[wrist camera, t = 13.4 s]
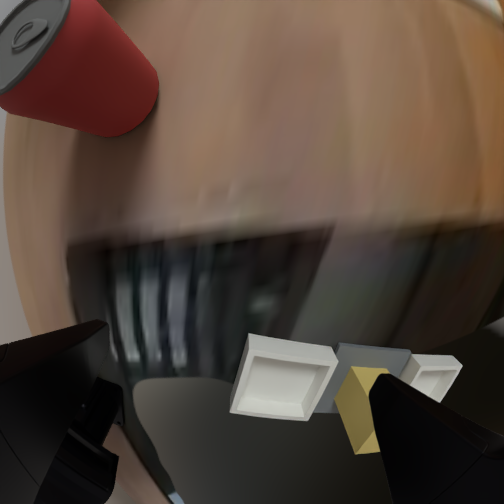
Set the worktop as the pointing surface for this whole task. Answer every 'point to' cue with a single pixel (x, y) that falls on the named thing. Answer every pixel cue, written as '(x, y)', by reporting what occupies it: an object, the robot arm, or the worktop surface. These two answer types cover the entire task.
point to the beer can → (73, 68)
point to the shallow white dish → (281, 378)
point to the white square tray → (430, 374)
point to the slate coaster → (359, 358)
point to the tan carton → (358, 408)
